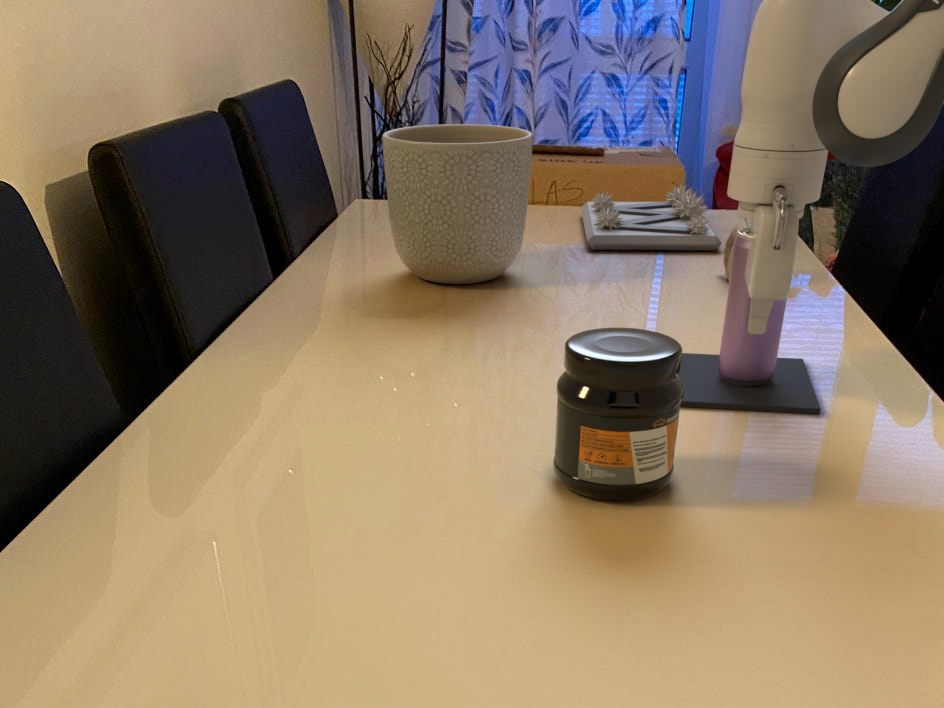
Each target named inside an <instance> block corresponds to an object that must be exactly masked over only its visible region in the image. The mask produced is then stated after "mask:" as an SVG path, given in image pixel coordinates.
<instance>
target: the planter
mask: <svg viewBox="0 0 944 708" xmlns="http://www.w3.org/2000/svg"><path fill="white" fill-rule="evenodd" d="M382 155H383V156H382V157H383V167H384V178H385V188H386V196H387V206H388V214H389V221H390V228H391V234H392V240H393V244H394V248H395V251H396V254H397V256H398V258H399V259H400V261H401V262H402V264H403V265H404V266H405V267H406V268H407V269H408V270H409V271H410V272H411V273H413V274H414V275H416V276H417V277H419V278H421V279H423V280H426V281H428V282H433V283H439V284H445V285H446V284H449V285H468V284H469V285H470V284H477V283H483V282H488V281H490V280H493V279H496V278H497V277H499V276H501V275H502V274H503V273H505V272H506V271H507V270H508V269H509V268H510V267H511V266H512V265H514V262H515V261H516V259H517V258H518V256H519V254H520V252H521V249H522V246H523V240H524V236H525V228H526V221H527V214H528V204H529V196H530V195H529V194H530V185H531V173H532V161H533V160H532V159H533V133H532V132H531V131H530V130H527V129H523V128H519V127H514V126H506V125H505V126H504V125H493V124H473V123H471V124H470V123H468V124H467V123H456V124H455V123H452V124H450V123H449V124H448V123H447V124H427V125H414V126H413V125H412V126H405V127H400V128H394V129H391V130H388V131H385V132H384V133H383V134H382Z"/></svg>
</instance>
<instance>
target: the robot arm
mask: <svg viewBox="0 0 944 708" xmlns="http://www.w3.org/2000/svg"><path fill="white" fill-rule="evenodd" d="M747 45H748V46H747V49H746V53H745V61H744V66H743V73H742V74H743V75H742V78H741V86H740V87H741V88H740V101H741V119H740V123H739V126H738V128H737V131H736V133H735V136H734V140H733V147H732V156H731V162H730V169H729V175H728V185H727V190H726V195H727V197H728V198H730V199H732V200H735V201H738V206H737V212H736V213H737V216H738V217H737V218H738V219H737V224H738V230H740V229H742V228H746V227H750V232H749V233H748V234H751V235H752V236H753V240H750V243H749V251H748V257H747V262H746V268H745V281H746V285H747V289H748V293H749V296H750V298H751V305H750V312H749V316H748V322H747V329H748V332H749V333H750V334H763V333H765V331H766V327H767V321H768V316H769V314H770V311H771V308H772V305H773V302H774V301H781V300H785V299H786V298H787V299H788V295H789V292H790V290H791V286H792V285H791V284H792V278H793V273H794V265H795V256H796V251H797V245H798V236H799V225H800V223H799V222H800V221H799V220H800V219H802V218H803V217H804V213H805V207H806V204H807V205H808V204H812V203H815V202H817V201H819V200H820V199H821V194H822V189H823V181H824V176H825V173H826V165H827V161H828V154H830V155H832V156H833V157H834V158H836V159H837V160H839V161H841V162H842V163H845V164H848V165H849V166H855V167H861V168H876V167H881V166H885V165H889V164H891V163H894V162H896V161H898V160H900V159H902V158H903V157H905V156H906V155H908V154H910V153H911V152H912V151H913V150H915V149H916V148H917V147H918V146H919V145H920V144H921V143H922V142H923V141H924V140H925V138H926V137H927V136H928V135H929V133H930V132H931V131H932V128H933V127H934V125H935V124H936V122H937V119H938V117H939V115H940V113H941V111H942V107H943V105H944V0H901V1H900V2H899V3H898V4H897V5H896V6H895V7H894V8H893V9H892V10H891V11H888V10H886V9H885V8H884V7H882V6H880V5H878V4H876V3H875V2H874V1H872V0H762V2H761V3H760V4H759V6H758V9H757V11H756V13H755V16H754V20H753V23H752V26H751V31H750V35H749V40H748V44H747ZM774 247H775V249H774ZM779 247H780V249H778V248H779ZM776 249H778V250H776Z"/></svg>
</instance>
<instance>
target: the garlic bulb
mask: <svg viewBox="0 0 944 708" xmlns="http://www.w3.org/2000/svg"><path fill="white" fill-rule="evenodd" d="M737 233H738V223H737V224H736V225H735V226H734V227H733V228H732V229H731V231H730V234H729V236H728V238H727V239H726V240H725V247H724V250H723V260H722V261H723V266H724V272H725V273H723V277H724V279H725V280H728V281H727V282H729V279H730V271H731V264H732V256H733V248H734V242H735V240H736V238H737V236H738V234H737Z"/></svg>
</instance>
